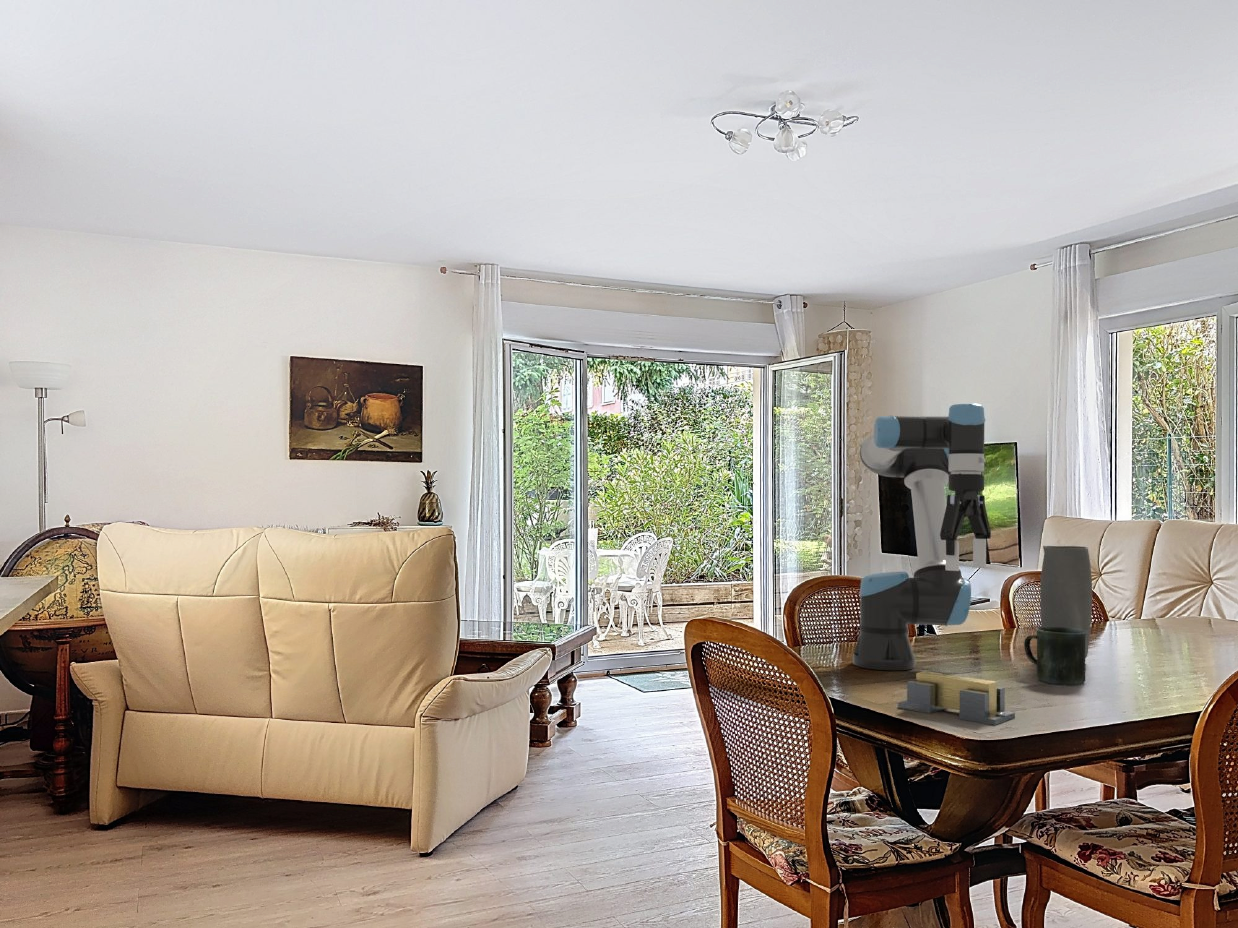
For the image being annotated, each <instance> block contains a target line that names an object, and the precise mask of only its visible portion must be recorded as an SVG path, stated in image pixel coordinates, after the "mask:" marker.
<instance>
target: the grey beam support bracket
mask: <svg viewBox="0 0 1238 928" xmlns="http://www.w3.org/2000/svg"><path fill="white" fill-rule="evenodd" d="M1005 690H1006V688H1005V687H1002V686H997V712H995V714H992V715H989V693H988V692H982V691H975V690H969V689H962V690H960V705H959V710H958V711H959V716H958V717H959V720H962V721H963V720H964V721H970V722H975V723H981V724H986V725H993V726H997V725H999V724H1001V723H1004V722H1007V721H1010V720H1012V719H1015V718H1016V716H1015V714H1016V712H1013V711H1008V710H1005V709H1006V707H1005V706H1006V705H1005V704H1006V701H1005V700H1006V699H1005V693H1006V691H1005Z"/></svg>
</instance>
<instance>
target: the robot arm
mask: <svg viewBox="0 0 1238 928" xmlns="http://www.w3.org/2000/svg"><path fill="white" fill-rule="evenodd" d="M985 423H986V417H985V407H984V406H983V405H982V404H980V403H955V404H952V405H950V406H949V408H948V415H947V416H903V415H902V416H901V415H900V416H898V415H897V416H896V415H895V416H894V415H888V416H879V417H877V418H876V419H875V422H874V424H873V425H874V427H873V434H872V435H870V436H868V437H867V438H865V439H864V441H863V442H862V443H861V446H860V448H859V458H860V460H861V463H862V464H863V465H864V467H865V468H867V470H869V471H870V472H872V473H874V474H877V475H879V476H883V477H888V478H903V480H904V481H903V482H904V486H906V487H907V488H908V489H910V493H911V500H912V512H913V521H914V533H915V541H916V550H917V551H916V552H917V553H916V554H917V561H918V568H917V569H916V570H915V571H914V572H913V577H910V576H909V574H908V572H906V571H886V572H879V573H878V572H877V573H871V574H868V575H865V576H863V578H862V579H861V580H860V587H859V594H858V595H859V598H860V599H859V604H860V606H859V613H860V615H859V635H858V638H857V642H856V645H855V646H854V647H855V648H854V650H853V653H852V665H854V666H856V667H859V668H864V669H869V670H876V671H877V670H879V671H906V670H912V669H915V668H916V658H915V655H914V651H913V649H912V645H911V642H910V639H909V635H908V634H909V632H908V630H909V629H908V628H909V625H920V626H921V625H925V626H927V625H928V626H945V627H948V626H959V625H960V626H961V625H963V624H964V623H965V622H966V620H967V619H968V615H969V612H970V607H971V602H972V601H971V599H972V584H971V581H970V579H969V578H965V577H962V571H961V569H960V541H959V540H958V536H959V535H960V531H961V529H962V526H963V523H964V521H965V518H967V519H968V522H969V524H970V527H971V530H972V533H973V535H974V538H972V568H979V569H986V568H987V540H988V539H989V540H990V539H991V537H992V535H991V534H992V531H991V527H990V526H991V525H990V522H989V521H990V520H989V516H988V512H987V508H986V499H985V498H986V497H985V495H984V494H982V495H981V494H978V492H983V491H984V490H985V475H984V474H982V473H984V471H985V463H986V461H987V459H986V458H985ZM947 484H948V490H949V491H950V492H954V494H948V495H947V496H946V490H945V486H947Z"/></svg>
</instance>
